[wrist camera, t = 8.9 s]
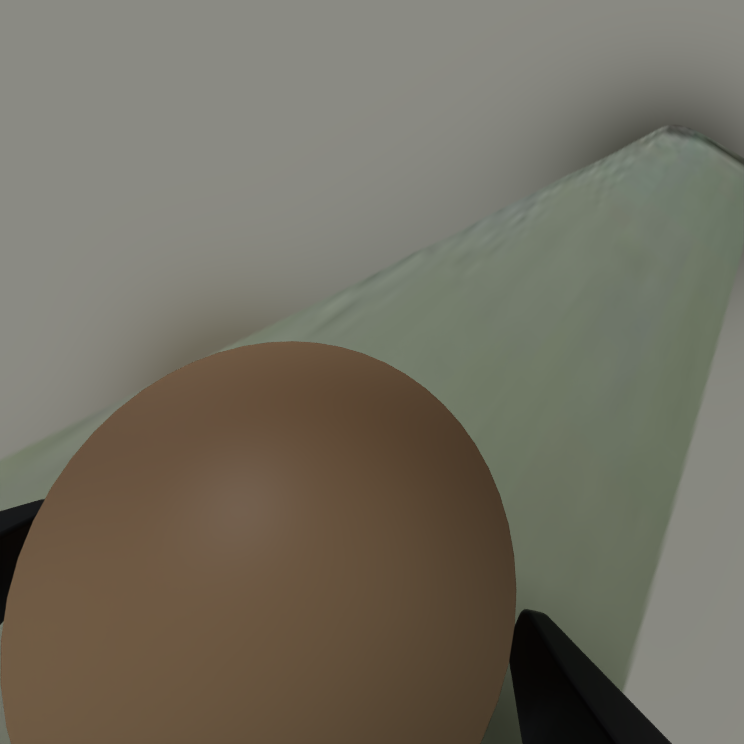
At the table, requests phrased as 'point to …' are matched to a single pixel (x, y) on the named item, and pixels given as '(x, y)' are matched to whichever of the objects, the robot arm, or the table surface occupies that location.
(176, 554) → the walnut cylinder
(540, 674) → the robot arm
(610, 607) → the table surface
